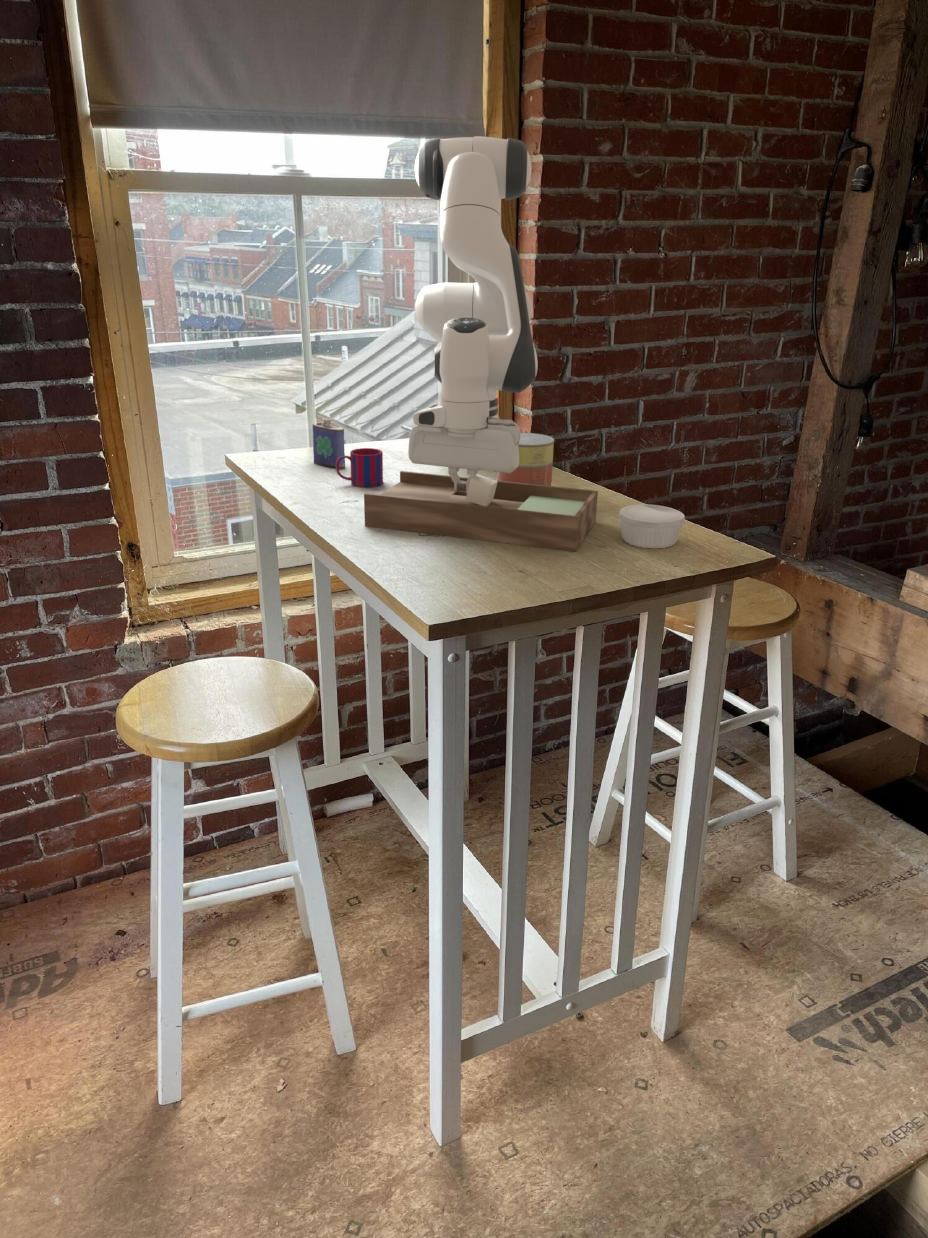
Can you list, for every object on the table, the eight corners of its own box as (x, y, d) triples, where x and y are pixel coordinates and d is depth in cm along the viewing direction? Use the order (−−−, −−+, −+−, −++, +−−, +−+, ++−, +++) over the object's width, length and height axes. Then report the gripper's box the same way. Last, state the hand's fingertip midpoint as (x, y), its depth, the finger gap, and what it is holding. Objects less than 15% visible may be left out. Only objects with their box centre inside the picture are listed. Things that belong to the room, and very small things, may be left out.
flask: (347, 467, 204) (346, 419, 200) (338, 470, 202) (336, 421, 198) (319, 461, 209) (317, 414, 205) (309, 463, 207) (307, 416, 203)
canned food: (500, 488, 191) (502, 431, 186) (553, 491, 189) (556, 434, 184) (491, 502, 180) (493, 442, 176) (548, 506, 178) (551, 446, 174)
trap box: (401, 500, 181) (401, 470, 178) (595, 521, 170) (597, 490, 167) (364, 525, 165) (363, 493, 162) (575, 551, 154) (578, 517, 152)
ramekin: (687, 537, 163) (690, 508, 161) (674, 555, 153) (677, 525, 151) (626, 528, 167) (628, 500, 165) (609, 545, 157) (612, 516, 155)
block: (472, 494, 167) (477, 473, 166) (492, 501, 167) (497, 480, 165) (465, 499, 164) (470, 479, 162) (485, 506, 163) (491, 486, 161)
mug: (386, 486, 190) (385, 454, 187) (338, 489, 187) (337, 456, 185) (379, 478, 196) (378, 447, 193) (333, 481, 193) (332, 449, 190)
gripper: (525, 416, 160) (522, 493, 165) (417, 408, 166) (417, 482, 171) (515, 423, 154) (512, 501, 160) (404, 413, 160) (405, 490, 166)
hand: (462, 491), depth 166 cm, fingers closed
